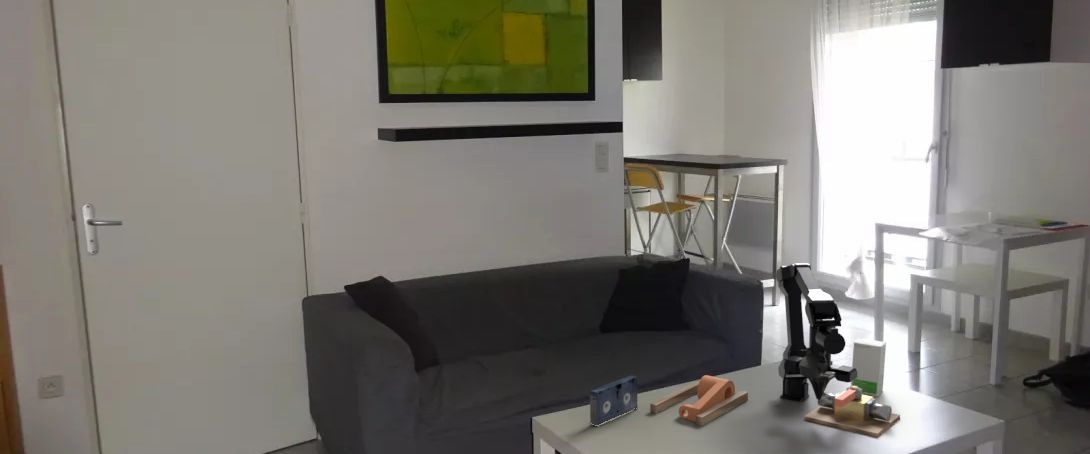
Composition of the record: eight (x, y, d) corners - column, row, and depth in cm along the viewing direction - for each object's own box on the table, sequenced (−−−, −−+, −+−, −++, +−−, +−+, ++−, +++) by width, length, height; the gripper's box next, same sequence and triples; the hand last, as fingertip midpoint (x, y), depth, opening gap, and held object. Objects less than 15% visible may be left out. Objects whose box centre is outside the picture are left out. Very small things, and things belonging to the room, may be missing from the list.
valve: (815, 410, 231) (815, 393, 230) (825, 403, 236) (825, 386, 236) (884, 426, 219) (884, 408, 218) (893, 418, 224) (893, 401, 223)
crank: (711, 397, 247) (711, 372, 246) (734, 403, 242) (735, 377, 240) (674, 416, 232) (674, 389, 231) (699, 423, 227) (699, 395, 226)
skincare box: (850, 392, 248) (851, 342, 246) (855, 386, 254) (857, 337, 252) (879, 397, 244) (881, 346, 241) (884, 390, 249) (886, 340, 247)
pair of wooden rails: (650, 412, 235) (650, 403, 235) (697, 388, 254) (697, 380, 254) (702, 426, 224) (702, 417, 224) (747, 400, 243) (748, 391, 243)
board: (804, 419, 227) (804, 416, 227) (829, 402, 240) (829, 399, 240) (877, 437, 214) (877, 433, 214) (899, 418, 227) (900, 415, 226)
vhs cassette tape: (631, 407, 240) (631, 374, 238) (639, 410, 237) (639, 376, 236) (588, 425, 227) (588, 390, 225) (596, 427, 225) (596, 392, 223)
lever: (849, 392, 229) (850, 383, 229) (864, 395, 227) (864, 386, 226) (830, 405, 220) (831, 396, 219) (845, 408, 217) (846, 399, 217)
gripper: (774, 344, 223) (773, 399, 225) (842, 356, 210) (840, 415, 213) (792, 335, 231) (791, 389, 233) (858, 347, 219) (857, 403, 221)
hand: (818, 399), depth 225 cm, fingers closed
